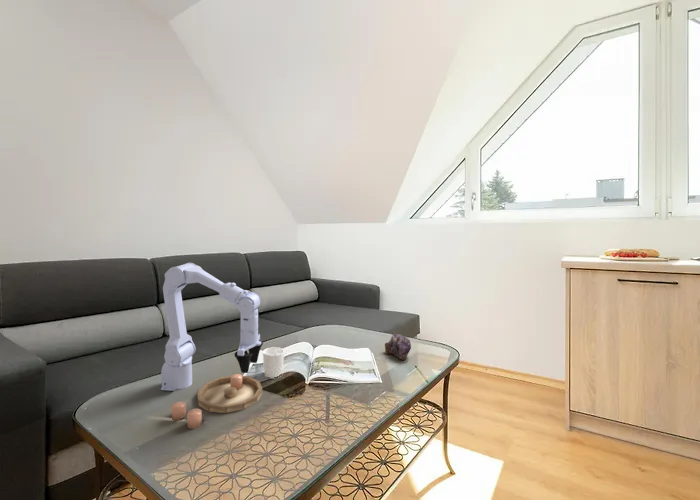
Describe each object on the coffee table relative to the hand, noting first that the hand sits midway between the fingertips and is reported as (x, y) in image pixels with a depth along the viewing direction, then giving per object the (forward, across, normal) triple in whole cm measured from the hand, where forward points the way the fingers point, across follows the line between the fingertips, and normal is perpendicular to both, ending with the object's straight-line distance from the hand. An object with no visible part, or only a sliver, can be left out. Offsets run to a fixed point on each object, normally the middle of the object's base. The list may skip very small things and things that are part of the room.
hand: (249, 367), depth 129 cm
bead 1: (+10, -17, +16) cm, 25 cm away
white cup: (+10, +14, -4) cm, 18 cm away
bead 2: (+10, -19, +9) cm, 24 cm away
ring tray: (+10, -3, +5) cm, 12 cm away
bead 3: (+9, +2, +6) cm, 11 cm away
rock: (+10, +44, -51) cm, 68 cm away
